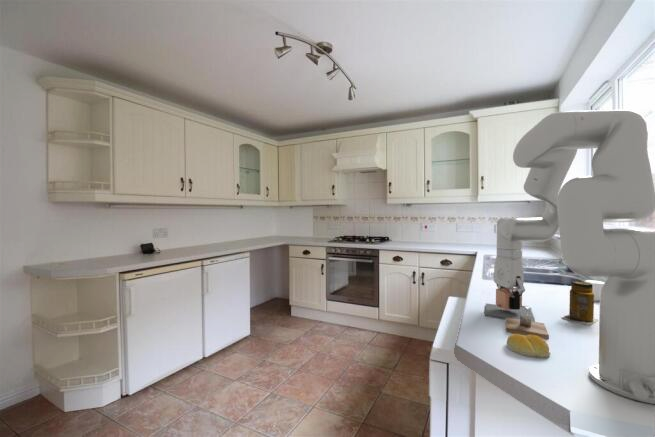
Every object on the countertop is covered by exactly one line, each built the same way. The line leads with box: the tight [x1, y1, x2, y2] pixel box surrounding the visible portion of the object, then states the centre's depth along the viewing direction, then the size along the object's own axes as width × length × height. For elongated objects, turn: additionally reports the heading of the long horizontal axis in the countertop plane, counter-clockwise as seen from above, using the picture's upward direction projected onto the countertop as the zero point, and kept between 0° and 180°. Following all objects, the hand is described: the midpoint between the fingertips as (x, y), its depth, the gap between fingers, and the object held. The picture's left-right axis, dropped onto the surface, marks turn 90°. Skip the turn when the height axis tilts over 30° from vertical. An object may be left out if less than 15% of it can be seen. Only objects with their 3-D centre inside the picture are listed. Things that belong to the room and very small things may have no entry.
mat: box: [484, 303, 536, 322], centre depth 102 cm, size 14×14×1 cm
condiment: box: [561, 280, 599, 326], centre depth 97 cm, size 7×8×12 cm
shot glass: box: [584, 279, 606, 302], centre depth 120 cm, size 7×7×7 cm
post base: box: [505, 318, 550, 340], centre depth 88 cm, size 10×10×1 cm
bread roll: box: [506, 333, 551, 359], centre depth 75 cm, size 8×9×4 cm
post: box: [520, 305, 532, 327], centre depth 88 cm, size 3×3×6 cm
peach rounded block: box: [495, 288, 523, 310], centre depth 102 cm, size 7×6×6 cm
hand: (508, 305), depth 102 cm, fingers closed on peach rounded block, 5 cm apart
